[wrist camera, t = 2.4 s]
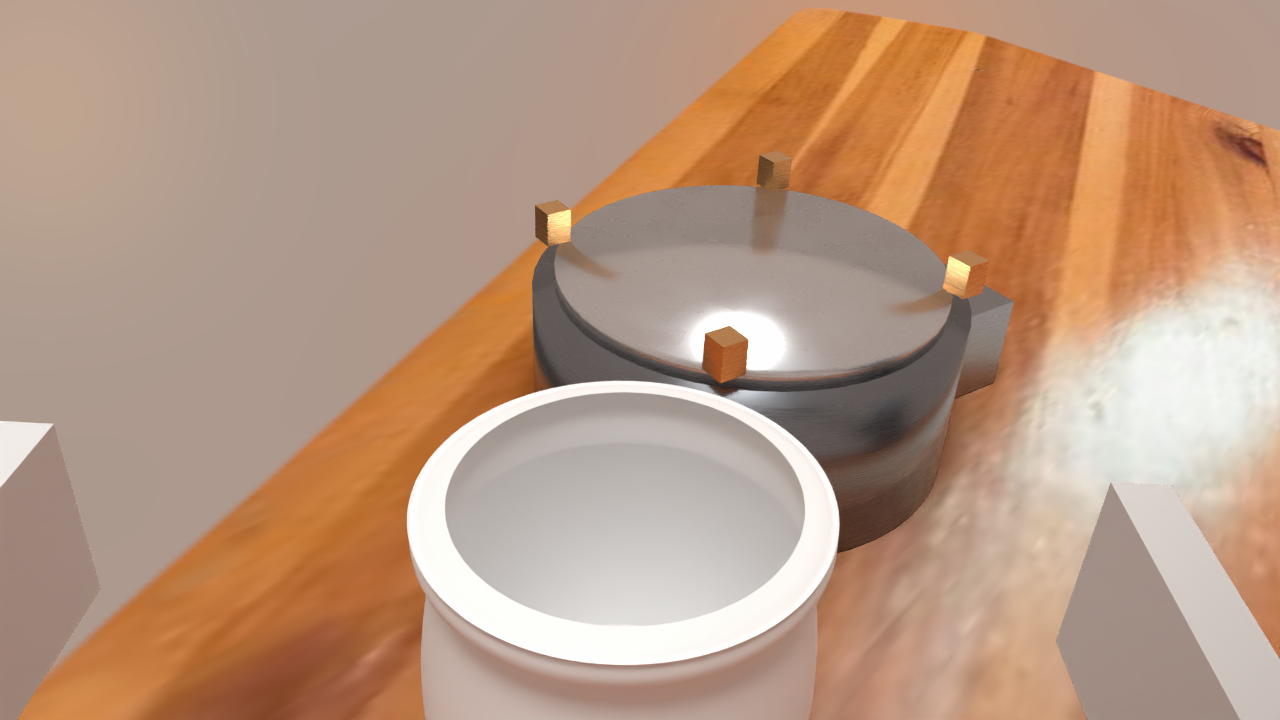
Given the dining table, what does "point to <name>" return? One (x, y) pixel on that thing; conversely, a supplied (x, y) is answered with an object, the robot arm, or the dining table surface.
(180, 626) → the dining table surface
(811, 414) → the cylinder
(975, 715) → the dining table surface
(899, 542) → the dining table surface
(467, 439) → the jar
